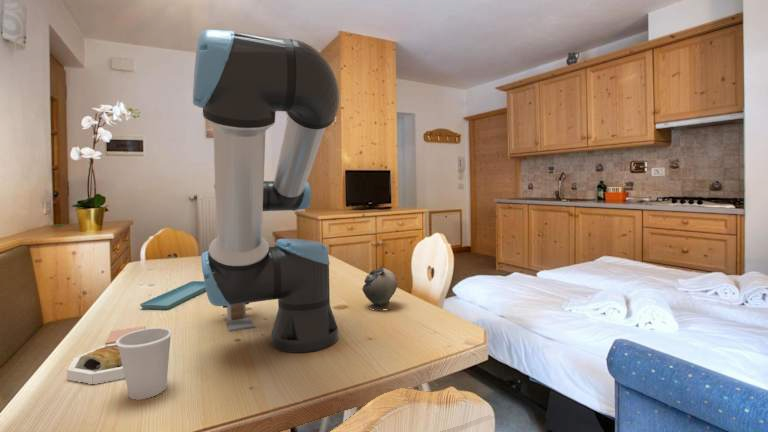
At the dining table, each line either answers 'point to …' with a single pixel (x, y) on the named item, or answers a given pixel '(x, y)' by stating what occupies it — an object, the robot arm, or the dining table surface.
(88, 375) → the dish rim
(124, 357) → the dixie cup
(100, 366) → the pastry
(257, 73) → the robot arm
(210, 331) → the dining table surface
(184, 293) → the teal serving tray
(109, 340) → the tile
